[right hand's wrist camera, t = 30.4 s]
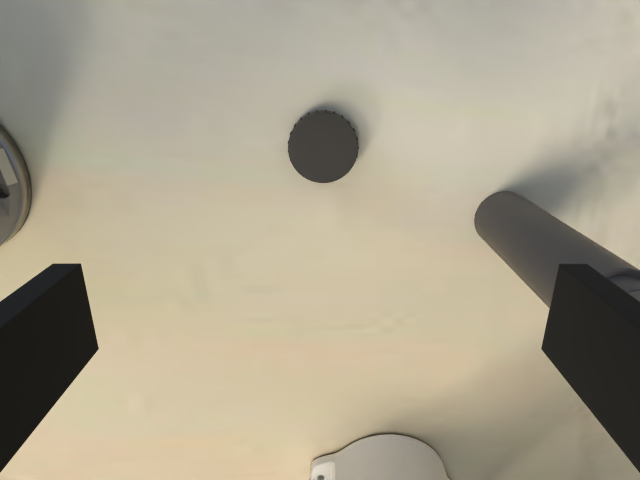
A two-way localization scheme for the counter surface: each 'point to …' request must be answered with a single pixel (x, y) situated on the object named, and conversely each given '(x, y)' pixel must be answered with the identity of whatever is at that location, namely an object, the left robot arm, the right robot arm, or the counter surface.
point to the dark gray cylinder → (545, 245)
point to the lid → (323, 146)
